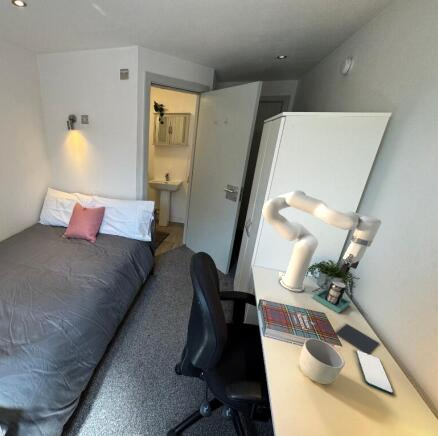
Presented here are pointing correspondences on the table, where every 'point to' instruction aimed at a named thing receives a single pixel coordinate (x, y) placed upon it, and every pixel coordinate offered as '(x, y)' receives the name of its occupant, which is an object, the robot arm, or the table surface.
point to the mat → (357, 338)
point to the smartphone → (373, 371)
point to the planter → (320, 361)
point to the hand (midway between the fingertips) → (348, 269)
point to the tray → (337, 308)
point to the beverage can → (335, 292)
